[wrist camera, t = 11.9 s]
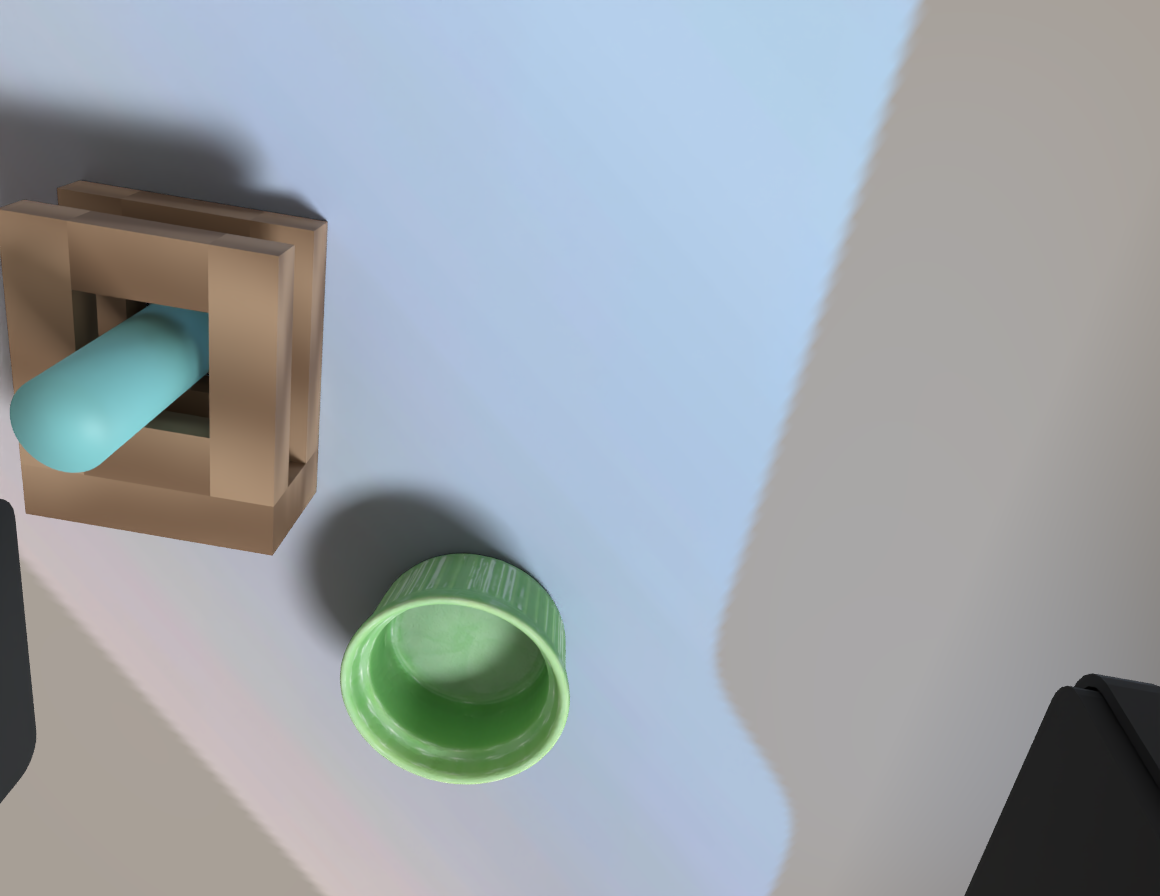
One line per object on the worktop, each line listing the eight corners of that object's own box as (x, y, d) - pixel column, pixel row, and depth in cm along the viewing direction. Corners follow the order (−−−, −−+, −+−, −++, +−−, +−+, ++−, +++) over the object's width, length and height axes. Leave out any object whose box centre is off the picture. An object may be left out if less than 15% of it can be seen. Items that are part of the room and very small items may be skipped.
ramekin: (542, 739, 46) (530, 811, 42) (348, 678, 45) (317, 746, 41) (607, 578, 42) (600, 642, 38) (396, 510, 41) (367, 567, 37)
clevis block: (79, 180, 36) (-4, 208, 32) (327, 221, 36) (278, 256, 32) (96, 454, 41) (25, 513, 37) (316, 491, 41) (272, 555, 36)
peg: (164, 275, 38) (5, 368, 29) (244, 288, 38) (109, 386, 29) (166, 350, 39) (14, 463, 30) (244, 363, 39) (114, 480, 30)
